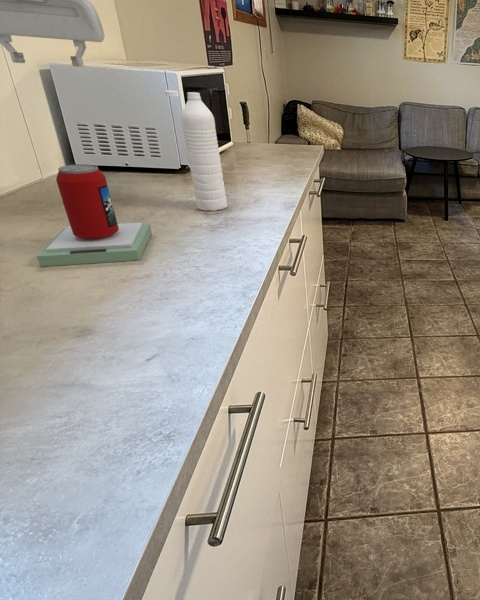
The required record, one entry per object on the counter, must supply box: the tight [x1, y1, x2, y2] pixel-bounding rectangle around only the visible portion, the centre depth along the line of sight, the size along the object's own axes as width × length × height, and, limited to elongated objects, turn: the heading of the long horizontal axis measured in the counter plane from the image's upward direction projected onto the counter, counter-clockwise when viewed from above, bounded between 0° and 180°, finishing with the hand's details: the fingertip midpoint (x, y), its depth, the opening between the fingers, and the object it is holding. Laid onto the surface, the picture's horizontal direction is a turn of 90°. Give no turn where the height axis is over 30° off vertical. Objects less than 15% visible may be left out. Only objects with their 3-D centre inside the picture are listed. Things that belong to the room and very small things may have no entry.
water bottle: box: [164, 89, 228, 212], centre depth 105 cm, size 9×6×25 cm
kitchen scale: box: [36, 222, 153, 268], centre depth 85 cm, size 14×14×2 cm
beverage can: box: [55, 163, 119, 240], centre depth 82 cm, size 7×7×12 cm
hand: (49, 64), depth 92 cm, fingers open, 8 cm apart
